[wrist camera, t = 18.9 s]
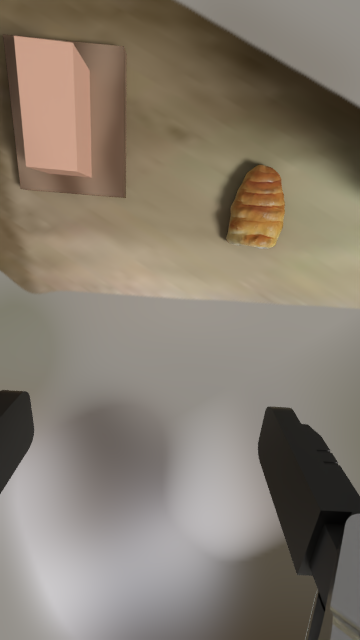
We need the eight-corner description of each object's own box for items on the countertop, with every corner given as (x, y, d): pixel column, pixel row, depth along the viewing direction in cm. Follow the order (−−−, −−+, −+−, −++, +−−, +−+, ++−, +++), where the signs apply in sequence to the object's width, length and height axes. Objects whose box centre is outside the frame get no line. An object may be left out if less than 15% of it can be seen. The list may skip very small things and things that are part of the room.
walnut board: (126, 54, 30) (124, 46, 28) (125, 197, 35) (123, 197, 33) (11, 43, 29) (3, 34, 28) (27, 189, 34) (20, 188, 33)
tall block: (91, 177, 33) (89, 70, 29) (77, 171, 28) (72, 42, 24) (48, 173, 32) (40, 64, 29) (26, 166, 28) (13, 35, 24)
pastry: (234, 164, 34) (241, 159, 30) (289, 169, 34) (302, 164, 30) (223, 245, 37) (229, 248, 33) (274, 248, 37) (284, 252, 34)
